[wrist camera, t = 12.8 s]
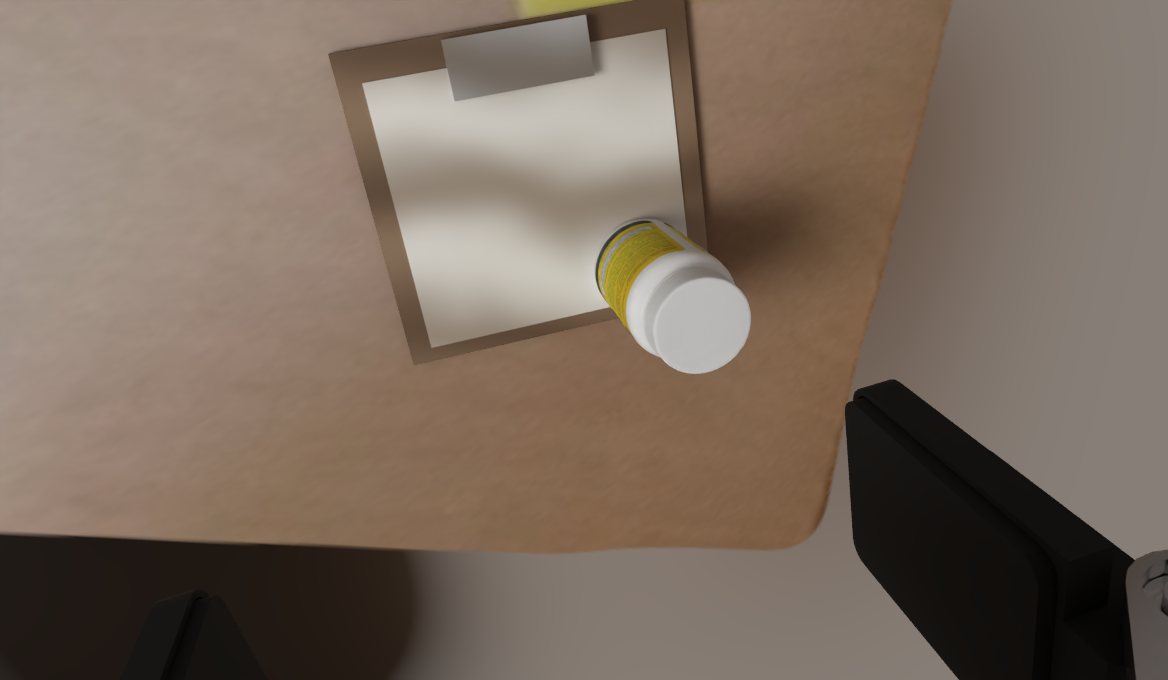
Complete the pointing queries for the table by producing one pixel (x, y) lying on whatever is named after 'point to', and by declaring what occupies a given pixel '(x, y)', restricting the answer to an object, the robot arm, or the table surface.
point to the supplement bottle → (672, 296)
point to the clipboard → (521, 164)
